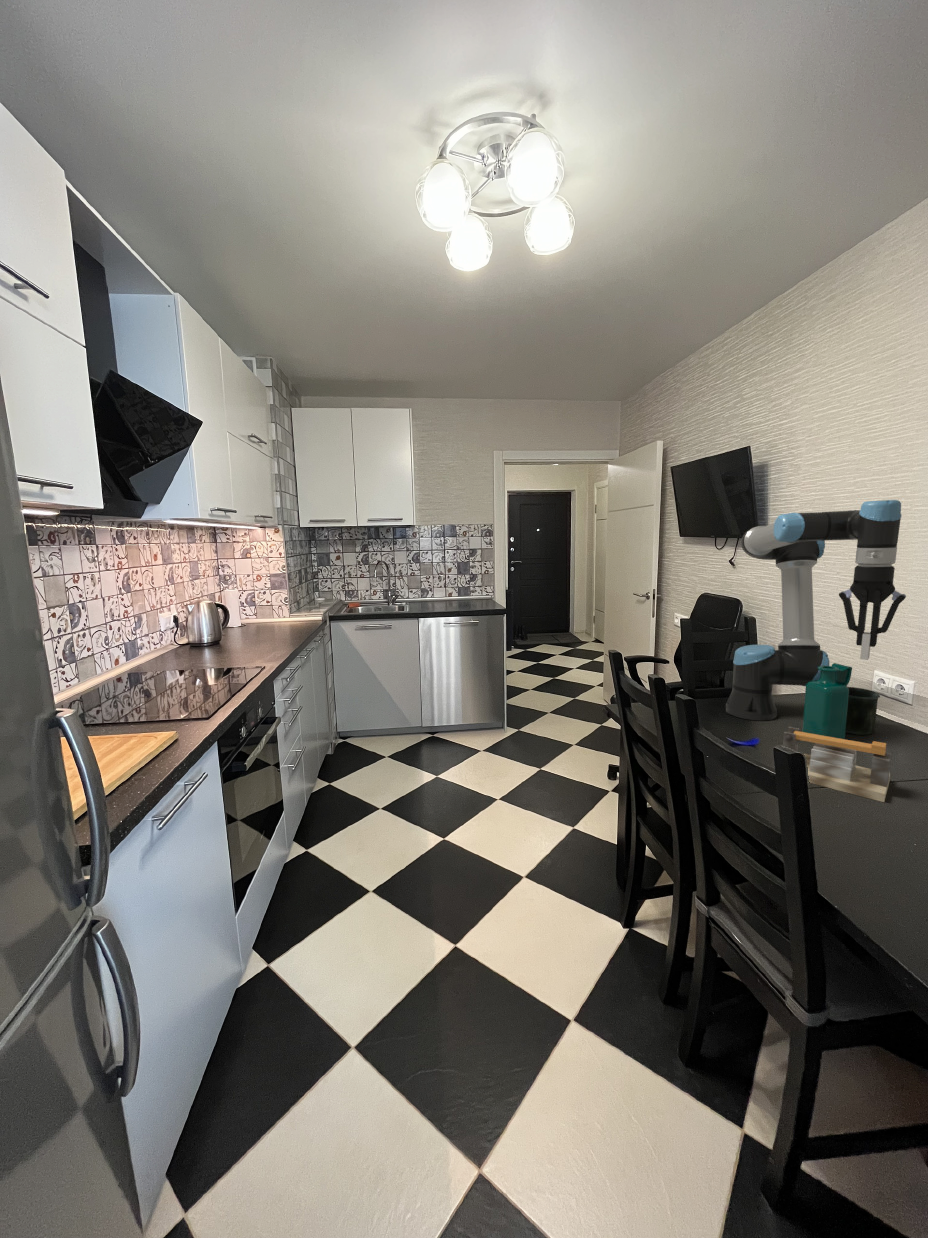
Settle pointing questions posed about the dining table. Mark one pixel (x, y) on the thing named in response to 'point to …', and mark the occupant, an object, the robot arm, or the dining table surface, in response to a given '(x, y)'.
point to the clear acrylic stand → (844, 769)
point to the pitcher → (827, 702)
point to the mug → (861, 711)
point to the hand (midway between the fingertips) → (864, 658)
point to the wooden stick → (843, 743)
